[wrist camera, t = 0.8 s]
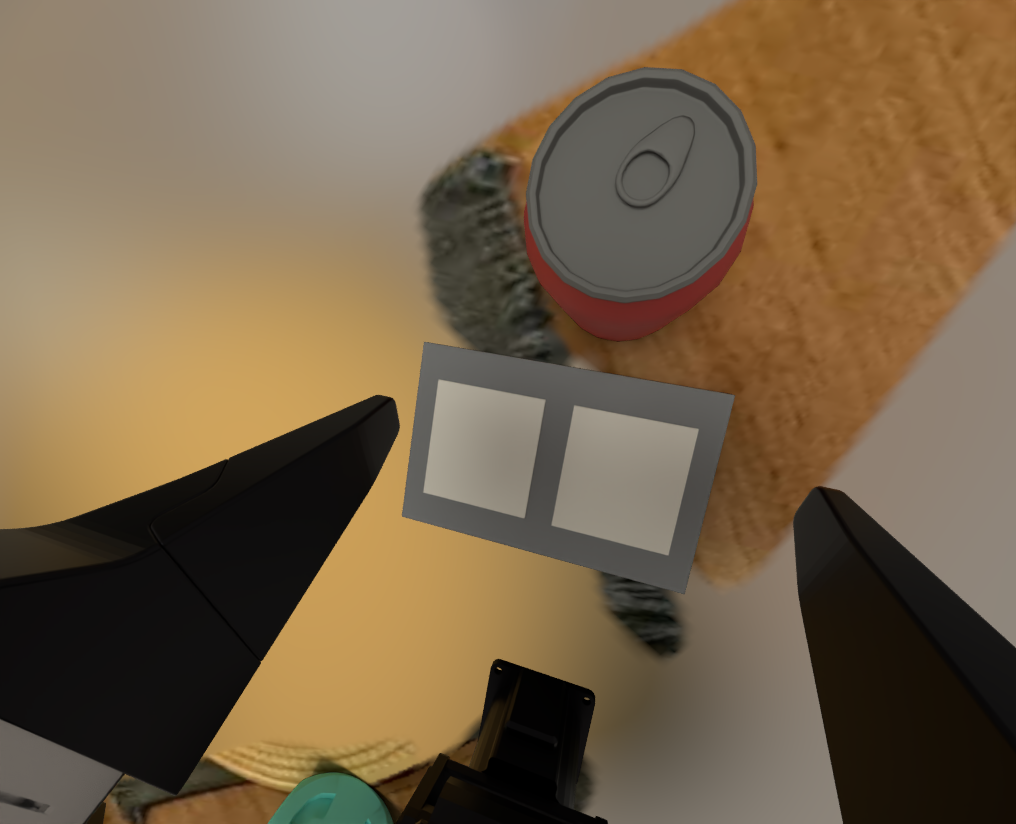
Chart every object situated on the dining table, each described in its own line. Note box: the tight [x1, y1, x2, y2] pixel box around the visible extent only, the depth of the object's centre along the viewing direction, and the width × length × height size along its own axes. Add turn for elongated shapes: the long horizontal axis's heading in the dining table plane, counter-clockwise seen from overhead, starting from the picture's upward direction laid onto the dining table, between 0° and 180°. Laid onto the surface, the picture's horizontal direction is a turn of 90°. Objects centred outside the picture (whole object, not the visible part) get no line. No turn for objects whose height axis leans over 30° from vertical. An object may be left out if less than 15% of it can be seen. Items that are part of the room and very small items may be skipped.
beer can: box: [524, 67, 757, 341], centre depth 16 cm, size 7×7×12 cm
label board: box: [402, 342, 735, 594], centre depth 24 cm, size 11×17×1 cm, turn 81°
